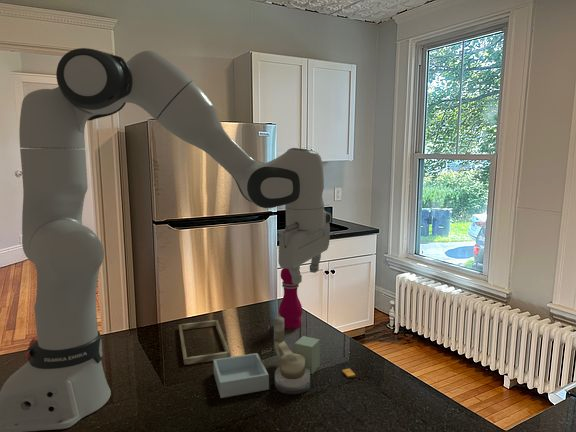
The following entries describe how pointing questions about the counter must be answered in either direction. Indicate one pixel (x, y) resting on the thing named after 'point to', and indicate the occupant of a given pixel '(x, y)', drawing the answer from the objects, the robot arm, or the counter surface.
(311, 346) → the block
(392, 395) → the counter surface
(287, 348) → the crank
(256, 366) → the tray
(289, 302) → the pepper mill
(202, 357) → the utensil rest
